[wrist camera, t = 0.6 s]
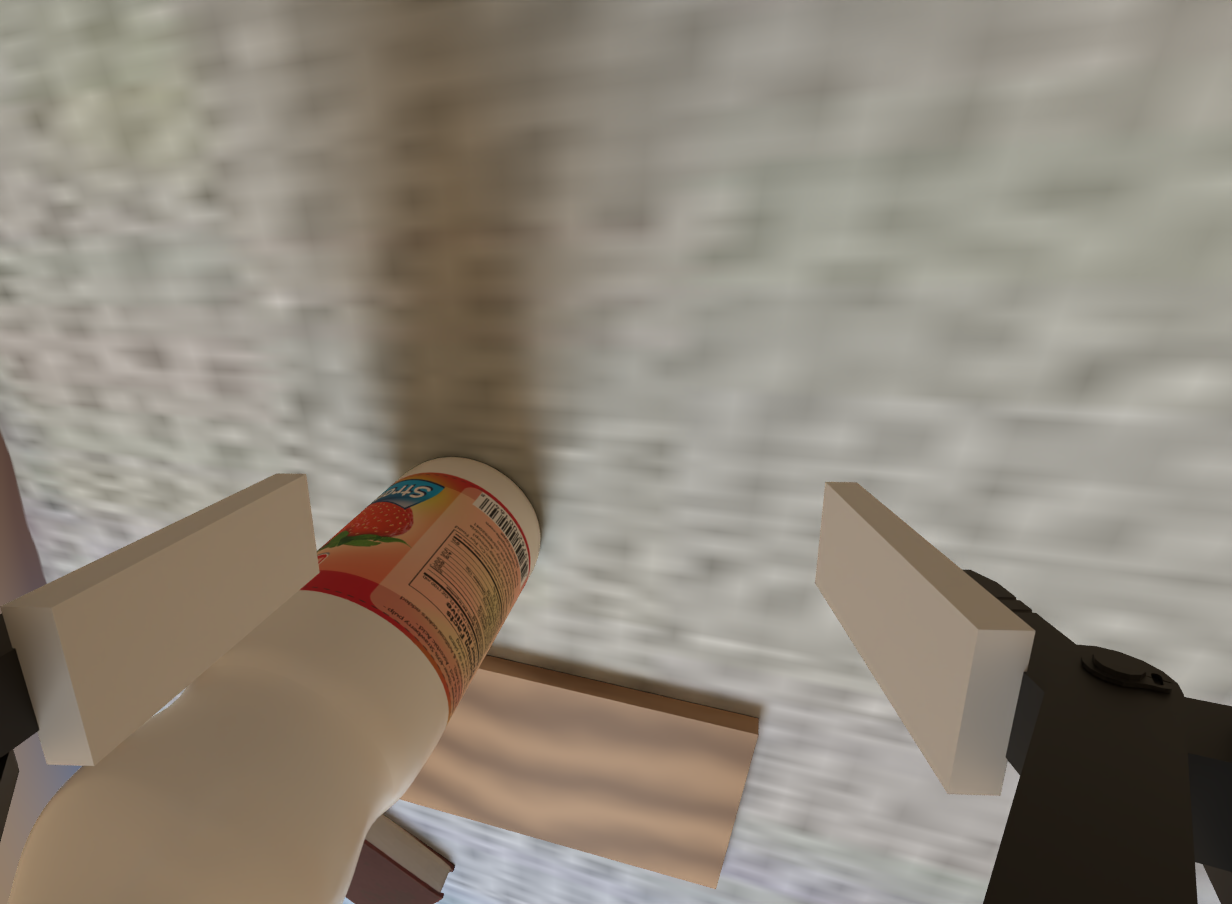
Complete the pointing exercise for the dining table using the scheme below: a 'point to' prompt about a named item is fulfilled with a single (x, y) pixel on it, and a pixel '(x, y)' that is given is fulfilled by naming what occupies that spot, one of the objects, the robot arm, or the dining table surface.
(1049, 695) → the robot arm
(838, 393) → the dining table surface
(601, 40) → the dining table surface
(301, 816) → the fruit juice
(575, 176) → the dining table surface
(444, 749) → the walnut board
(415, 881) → the book
